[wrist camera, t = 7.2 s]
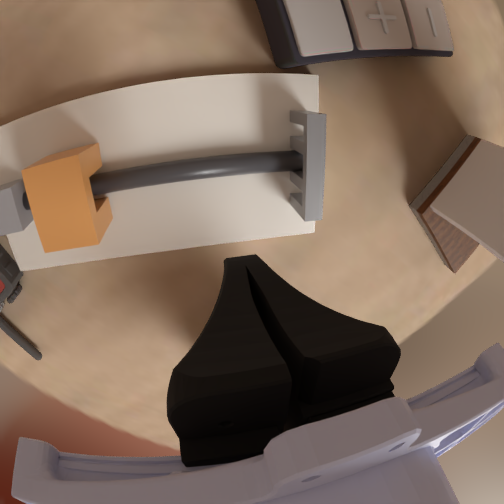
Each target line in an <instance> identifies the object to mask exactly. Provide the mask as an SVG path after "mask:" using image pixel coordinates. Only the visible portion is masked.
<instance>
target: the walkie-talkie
mask: <svg viewBox="0 0 504 504" xmlns="http://www.w3.org/2000/svg"><path fill="white" fill-rule="evenodd" d="M22 276H23V272H22V271H20V269H19V267H18V265H17V263H16V262H15V261H14V260H13V259H12V258H11V256H10V255H9V254H8V253H7V252H6V251H5V249H4V248H3V247H2V246H1V244H0V312H1V310H2V308H3V306H4V304H5V303H4V302H3V301H4V300H5V299H6V298H7V297H8V298H7V301H8V303H12V302H13V301H14V300H15V299H16V297H17V296H18V295H19V293H20V292H21V290H22V286H21V285H20V284H18V285H17V283H18V282H19V280H20V279H21V277H22ZM0 328H1V329H2V330H3V331H4V332H5V333H6V334H7V335H9V336H10V337H11V338H12V339H13V340H14V341H15V342H16V343H17V344H18V345H20V346H21V347H22V348H23V349H24V350H25V351H27V352H28V353H29V354H30V355H31V356H32V357H34V358H35V359H36V360H41V358H42V354H41V352H39V351H38V350H37V349H36V348H35V347H34V346H32V345H31V344H30V343H29V342H28V341H27V340H26V339H24V338H23V337H22V336H21V335H20V334H19V333H18V332H17V331H16V330H15V329H14V328H12V327H11V326H10V325H9V324H8V323H7V322H6V321H5V320H4V319H3V318H2V317H1V316H0Z"/></svg>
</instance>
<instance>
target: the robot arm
mask: <svg viewBox="0 0 504 504" xmlns="http://www.w3.org/2000/svg"><path fill="white" fill-rule="evenodd" d="M400 356H401V351H400V348H399V347H398V345H397V343H396V342H395V340H394V339H393V337H392V336H391V334H390V333H389V332H388V331H387V329H386V328H385V327H383V326H379V325H375V324H371V323H367V322H364V321H360V320H357V319H354V318H352V317H349V316H346V315H343V314H341V313H338V312H336V311H334V310H332V309H330V308H328V307H325V306H323V305H321V304H319V303H318V302H316V301H314V300H312V299H311V298H309V297H307V296H306V295H304V294H302V293H301V292H299V291H298V290H297V289H295V288H294V287H292V286H291V285H290V284H289V283H287V282H286V281H285V280H284V279H282V278H281V277H280V276H279V275H278V274H276V273H275V272H274V271H273V270H272V269H271V268H270V267H269V266H268V265H267V264H266V263H265V262H264V261H263V260H262V259H261V258H260V257H259V256H257V255H256V254H255V255H247V256H240V257H232V258H226V259H225V260H224V276H223V281H222V285H221V289H220V293H219V296H218V299H217V302H216V304H215V307H214V309H213V312H212V314H211V316H210V318H209V320H208V322H207V324H206V326H205V328H204V329H203V331H202V333H201V334H200V336H199V338H198V339H197V340H196V342H195V343H194V345H193V346H192V348H191V349H190V350H189V352H188V353H187V354H186V355H185V357H184V358H183V359H182V360H181V361H180V362H179V363H178V365H177V366H176V367H175V368H174V369H173V372H172V375H171V379H170V383H169V387H168V393H167V417H168V421H169V423H170V424H171V426H172V428H173V429H174V431H175V433H176V434H177V436H178V438H179V441H180V452H181V456H165V457H111V456H95V455H83V454H73V453H65V452H59V451H58V450H57V449H56V448H55V447H53V446H52V445H51V444H49V443H47V442H45V441H41V440H35V439H29V438H24V437H20V438H19V442H18V447H17V453H16V460H15V466H14V474H13V483H12V493H11V495H12V496H13V497H14V498H16V499H18V500H20V501H22V502H24V503H27V504H459V502H458V500H457V498H456V495H455V493H454V491H453V489H452V487H451V485H450V483H449V481H448V479H447V477H446V475H445V473H444V471H443V470H442V468H441V465H440V464H439V462H438V460H437V457H439V456H440V455H442V454H443V453H445V452H446V451H448V450H449V449H451V448H452V447H453V446H455V445H457V444H458V443H459V442H461V441H462V440H464V439H465V438H466V437H468V436H469V435H470V434H472V433H473V432H474V431H476V430H477V429H478V428H480V427H481V426H482V425H484V424H485V423H486V422H487V421H489V420H490V419H491V418H492V417H494V416H495V415H496V414H497V413H498V412H499V411H500V410H501V409H502V408H503V407H504V349H503V347H502V346H501V345H500V344H499V343H496V344H495V345H493V346H491V347H489V348H488V349H487V350H485V351H484V352H482V353H481V354H480V356H479V357H478V358H477V360H476V361H475V363H474V365H473V366H472V367H470V368H468V369H466V370H465V371H463V372H461V373H459V374H458V375H456V376H454V377H452V378H450V379H448V380H447V381H445V382H443V383H441V384H439V385H437V386H435V387H433V388H431V389H429V390H427V391H425V392H423V393H420V394H418V395H416V396H414V397H412V398H410V399H408V400H405V399H403V398H400V397H395V396H394V394H393V392H392V390H393V389H394V385H393V383H392V382H391V380H390V378H391V376H392V374H393V372H394V370H395V368H396V366H397V364H398V361H399V358H400Z"/></svg>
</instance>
